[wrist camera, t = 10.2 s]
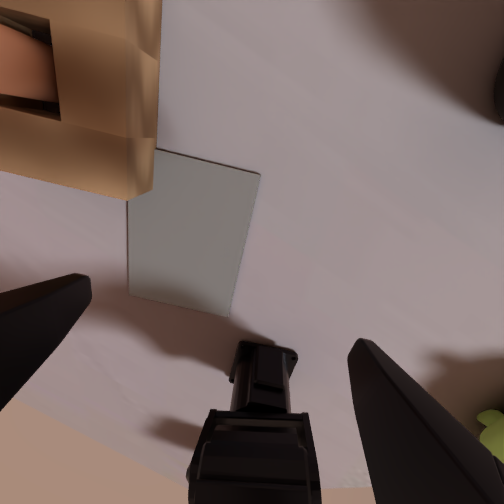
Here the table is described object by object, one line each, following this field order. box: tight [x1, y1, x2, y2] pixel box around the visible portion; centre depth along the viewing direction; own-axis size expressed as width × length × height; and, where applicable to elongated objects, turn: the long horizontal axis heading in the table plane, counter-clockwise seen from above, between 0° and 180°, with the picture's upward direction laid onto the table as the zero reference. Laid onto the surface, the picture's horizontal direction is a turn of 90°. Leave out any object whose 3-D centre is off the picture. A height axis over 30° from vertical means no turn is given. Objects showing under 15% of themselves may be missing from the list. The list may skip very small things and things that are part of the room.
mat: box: [128, 149, 261, 317], centre depth 21 cm, size 14×10×1 cm
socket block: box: [0, 0, 162, 201], centre depth 14 cm, size 12×12×4 cm
